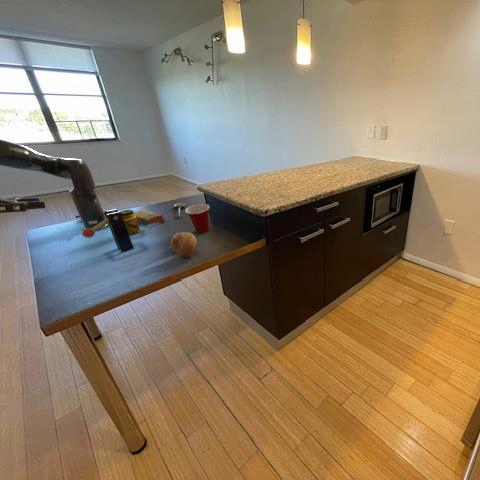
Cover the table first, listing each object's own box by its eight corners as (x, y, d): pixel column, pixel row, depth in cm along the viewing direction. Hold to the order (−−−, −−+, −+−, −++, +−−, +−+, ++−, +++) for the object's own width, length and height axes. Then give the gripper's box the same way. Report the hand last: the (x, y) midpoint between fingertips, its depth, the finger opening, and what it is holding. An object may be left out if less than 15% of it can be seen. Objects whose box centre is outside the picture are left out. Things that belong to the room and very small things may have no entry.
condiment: (143, 236, 122) (134, 212, 116) (121, 240, 117) (111, 216, 112) (142, 230, 127) (134, 207, 122) (121, 235, 123) (112, 211, 117)
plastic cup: (185, 233, 125) (179, 209, 120) (202, 224, 134) (197, 202, 129) (202, 237, 122) (197, 213, 116) (218, 228, 131) (214, 205, 125)
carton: (145, 216, 144) (143, 209, 142) (164, 221, 137) (162, 214, 136) (129, 221, 137) (127, 214, 135) (149, 227, 131) (147, 219, 129)
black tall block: (113, 260, 102) (95, 219, 94) (106, 253, 108) (89, 213, 99) (146, 249, 110) (133, 210, 102) (139, 243, 116) (126, 205, 108)
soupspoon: (187, 206, 161) (175, 207, 159) (185, 200, 159) (173, 202, 157) (185, 217, 143) (172, 219, 140) (184, 211, 141) (170, 213, 139)
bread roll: (172, 262, 102) (167, 244, 98) (174, 245, 114) (169, 229, 110) (199, 257, 105) (195, 239, 102) (198, 241, 117) (194, 225, 114)
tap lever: (88, 240, 97) (80, 234, 94) (86, 237, 99) (78, 231, 96) (121, 218, 102) (114, 211, 100) (119, 216, 105) (111, 209, 102)
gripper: (-44, 197, 68) (44, 194, 81) (-47, 190, 76) (34, 188, 88) (-35, 225, 70) (49, 217, 83) (-38, 215, 78) (39, 210, 91)
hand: (41, 202), depth 86 cm, fingers open, 8 cm apart
